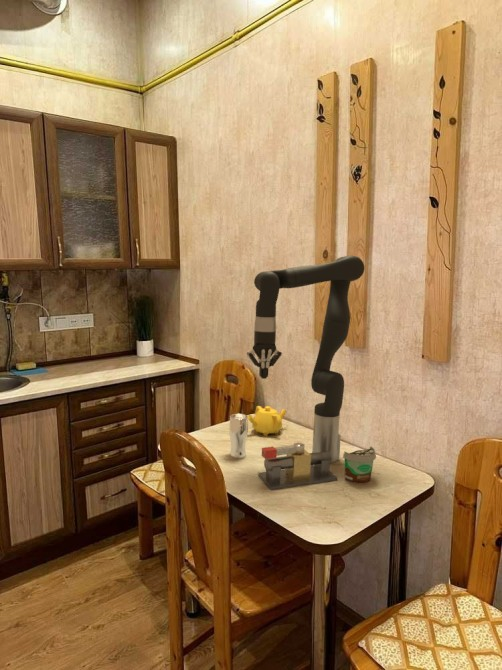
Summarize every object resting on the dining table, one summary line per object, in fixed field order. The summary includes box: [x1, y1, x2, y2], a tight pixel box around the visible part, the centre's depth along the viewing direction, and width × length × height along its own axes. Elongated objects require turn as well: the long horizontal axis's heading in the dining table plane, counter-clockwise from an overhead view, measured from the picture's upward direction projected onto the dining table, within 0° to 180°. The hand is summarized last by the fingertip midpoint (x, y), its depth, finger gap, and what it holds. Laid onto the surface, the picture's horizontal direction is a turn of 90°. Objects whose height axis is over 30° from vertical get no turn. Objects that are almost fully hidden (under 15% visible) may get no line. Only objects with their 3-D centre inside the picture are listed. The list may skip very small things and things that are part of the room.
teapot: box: [247, 405, 287, 437], centre depth 199 cm, size 20×18×11 cm
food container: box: [342, 446, 377, 484], centre depth 155 cm, size 12×6×10 cm, turn 117°
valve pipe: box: [257, 449, 338, 491], centre depth 156 cm, size 24×11×9 cm, turn 110°
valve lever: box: [261, 442, 305, 460], centre depth 153 cm, size 15×4×3 cm, turn 114°
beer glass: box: [228, 413, 249, 459], centre depth 173 cm, size 7×7×15 cm
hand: (263, 378), depth 164 cm, fingers closed
